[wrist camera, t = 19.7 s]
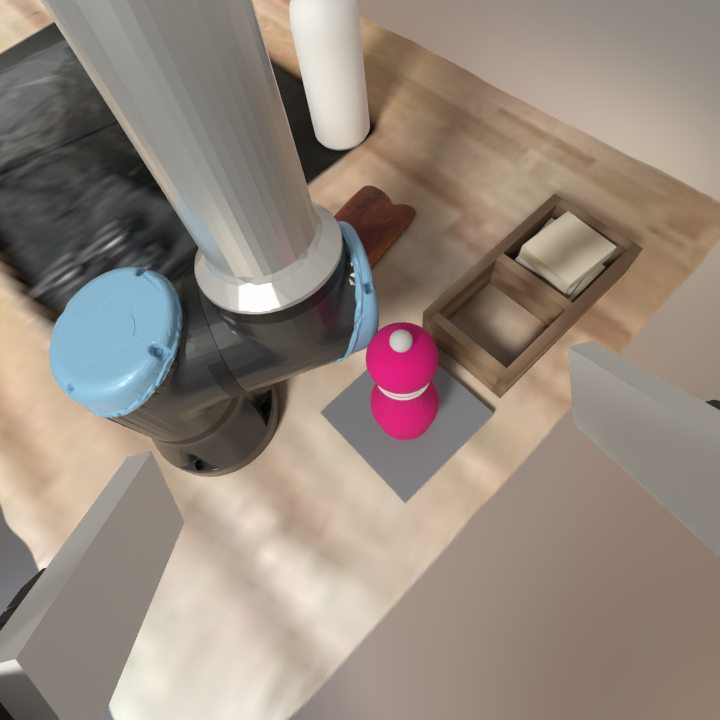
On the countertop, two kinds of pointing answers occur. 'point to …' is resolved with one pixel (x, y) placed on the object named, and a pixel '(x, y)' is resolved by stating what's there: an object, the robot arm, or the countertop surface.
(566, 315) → the tray
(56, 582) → the robot arm
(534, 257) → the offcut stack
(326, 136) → the alcohol
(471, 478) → the countertop surface
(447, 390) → the slate tile
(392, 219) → the wooden tablet
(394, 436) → the pepper mill
